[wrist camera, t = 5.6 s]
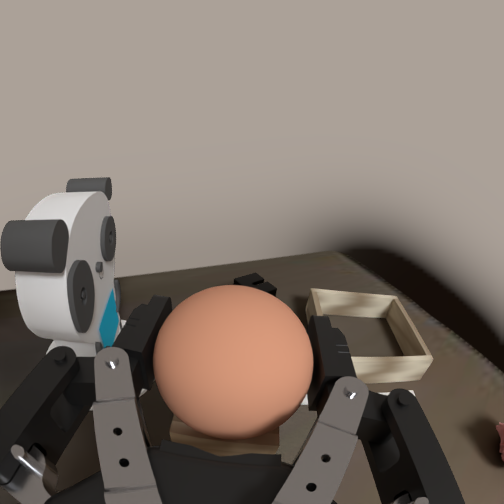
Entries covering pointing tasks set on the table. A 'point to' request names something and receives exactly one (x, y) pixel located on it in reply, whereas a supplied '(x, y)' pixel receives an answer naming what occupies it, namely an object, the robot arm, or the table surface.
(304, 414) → the table surface
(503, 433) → the flower
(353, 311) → the corral
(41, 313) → the panda figurine
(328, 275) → the table surface
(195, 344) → the ball
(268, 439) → the tee
